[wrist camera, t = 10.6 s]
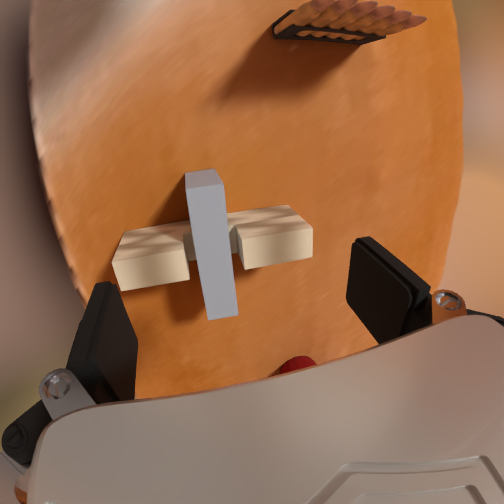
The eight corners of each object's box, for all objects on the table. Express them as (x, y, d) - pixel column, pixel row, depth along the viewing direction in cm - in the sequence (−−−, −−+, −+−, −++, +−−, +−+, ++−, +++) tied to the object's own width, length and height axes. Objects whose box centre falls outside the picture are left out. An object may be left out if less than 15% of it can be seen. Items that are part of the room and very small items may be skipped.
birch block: (131, 256, 31) (121, 291, 25) (124, 231, 29) (111, 262, 23) (288, 229, 34) (312, 257, 28) (287, 204, 32) (312, 227, 26)
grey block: (185, 172, 28) (185, 189, 22) (214, 168, 29) (223, 183, 23) (202, 282, 34) (208, 320, 28) (227, 278, 35) (238, 314, 29)
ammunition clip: (273, 39, 24) (325, 2, 13) (271, 24, 23) (321, -19, 12) (361, 45, 25) (435, 30, 15) (359, 31, 24) (431, 11, 14)
